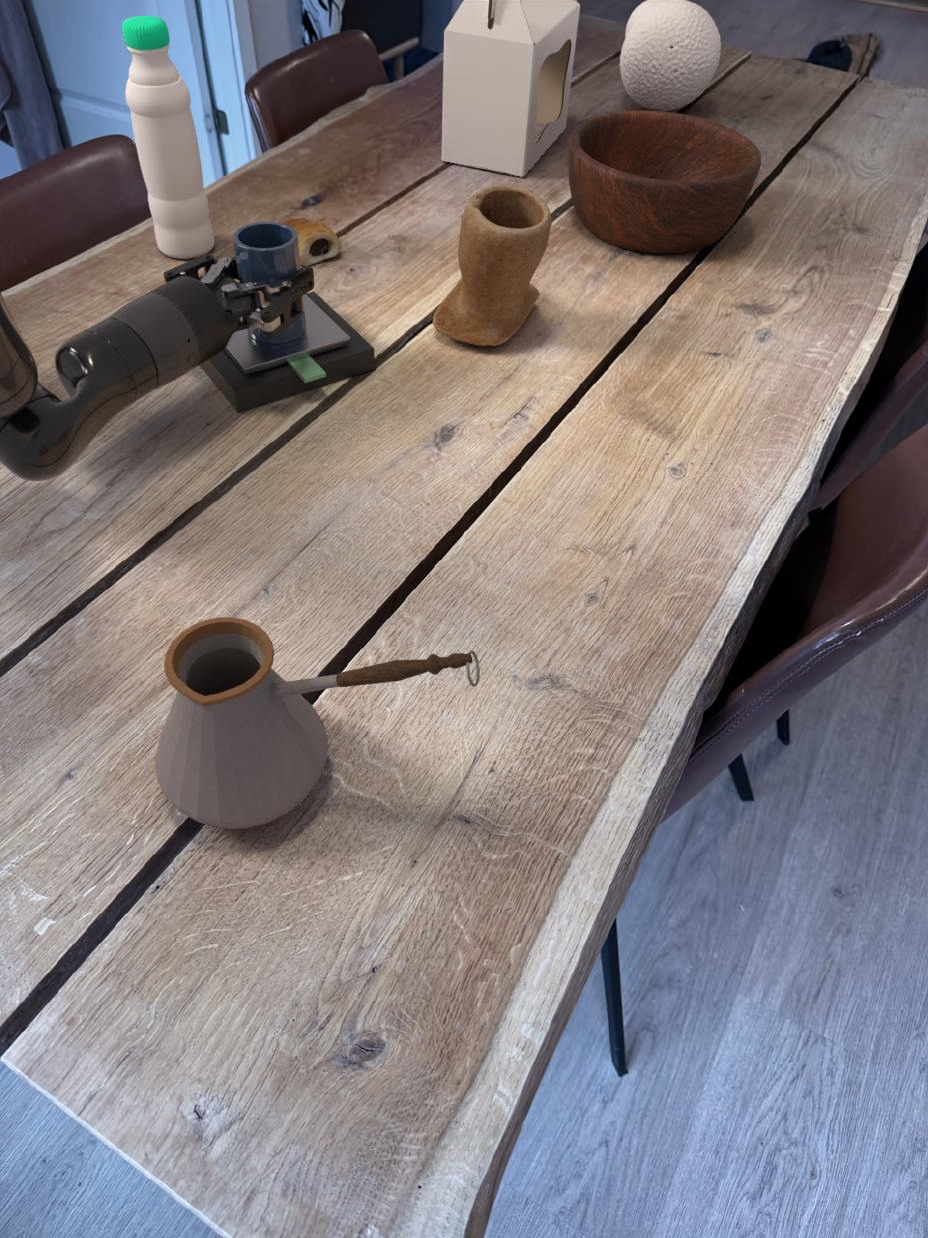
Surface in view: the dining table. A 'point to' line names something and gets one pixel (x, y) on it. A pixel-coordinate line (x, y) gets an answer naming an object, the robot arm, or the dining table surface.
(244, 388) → the scale
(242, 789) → the coffee pot
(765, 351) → the dining table surface
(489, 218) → the stone cup
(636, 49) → the decorative orb
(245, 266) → the cup
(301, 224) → the pastry
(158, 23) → the water bottle
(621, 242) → the wooden bowl
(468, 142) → the gable box
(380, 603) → the dining table surface
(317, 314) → the scale pan
